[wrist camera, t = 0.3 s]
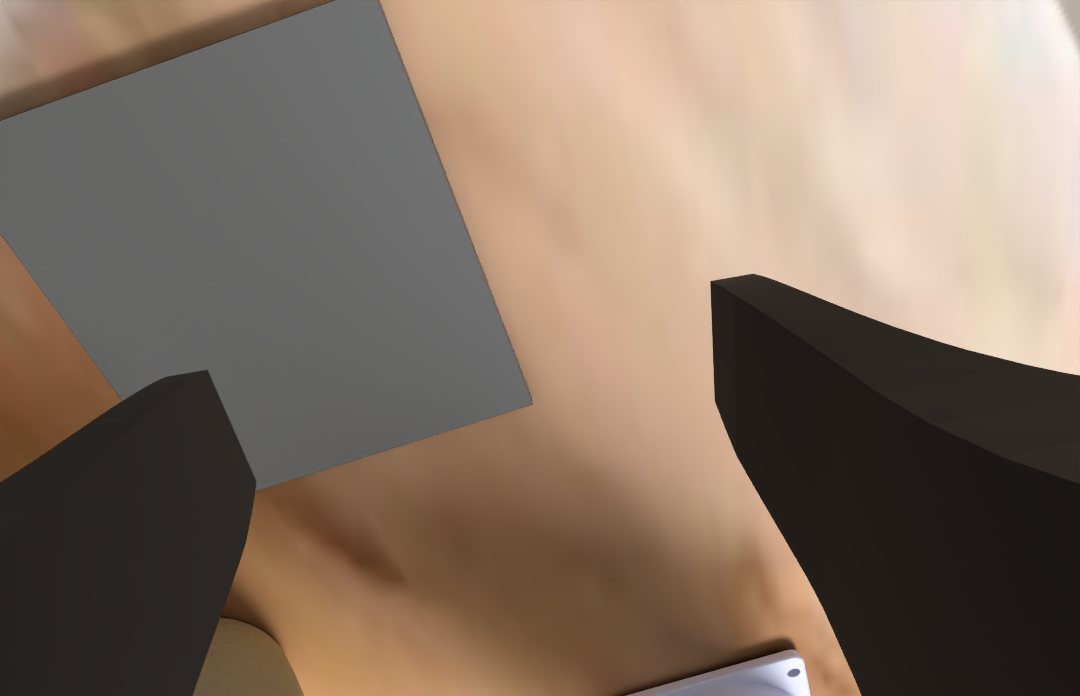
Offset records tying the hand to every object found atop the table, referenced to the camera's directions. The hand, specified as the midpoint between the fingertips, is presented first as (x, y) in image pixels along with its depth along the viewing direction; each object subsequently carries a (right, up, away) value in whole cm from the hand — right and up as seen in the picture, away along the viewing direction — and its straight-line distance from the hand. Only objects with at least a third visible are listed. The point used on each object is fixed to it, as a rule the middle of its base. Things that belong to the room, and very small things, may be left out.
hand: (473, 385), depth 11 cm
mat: (-6, +2, +10) cm, 12 cm away
